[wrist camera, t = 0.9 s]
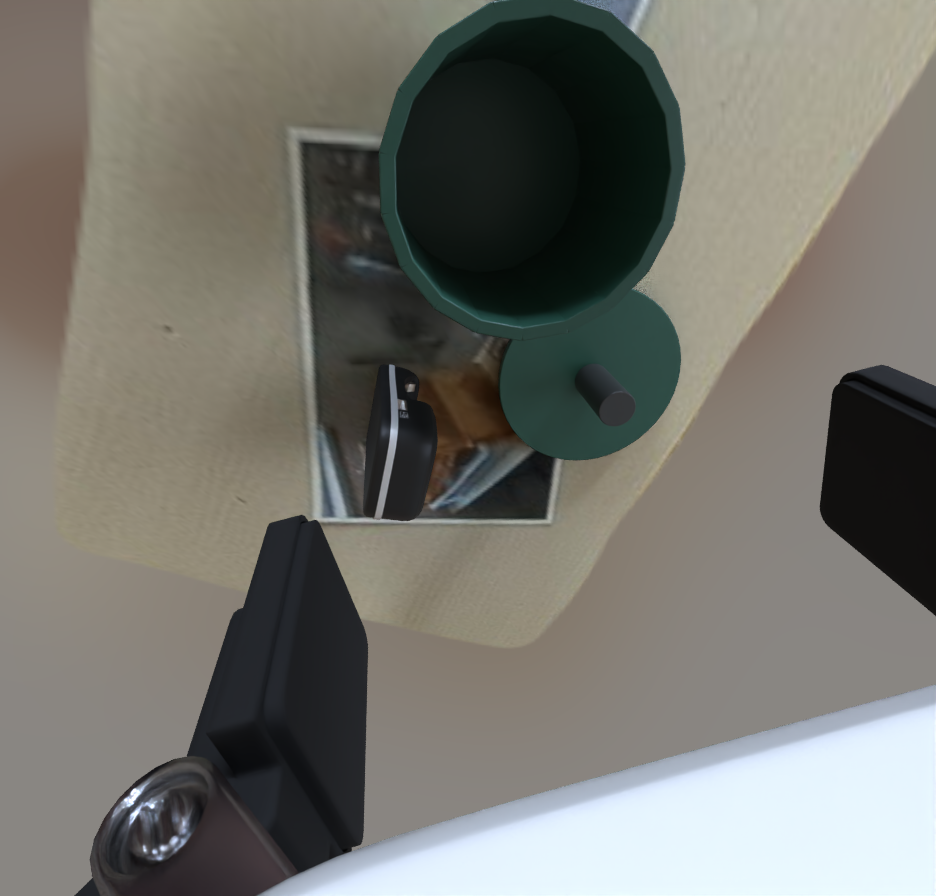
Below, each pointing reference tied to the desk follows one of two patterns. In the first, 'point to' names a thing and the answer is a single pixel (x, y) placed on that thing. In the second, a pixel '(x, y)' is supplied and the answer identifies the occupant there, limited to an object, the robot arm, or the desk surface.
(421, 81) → the tin
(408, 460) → the battery charger
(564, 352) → the lid
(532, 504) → the desk surface
